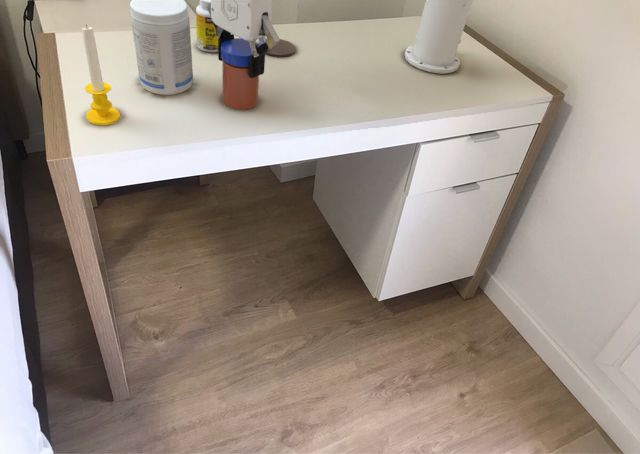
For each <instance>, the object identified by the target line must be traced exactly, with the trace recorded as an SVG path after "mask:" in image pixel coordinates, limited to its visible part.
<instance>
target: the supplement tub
mask: <svg viewBox="0 0 640 454" xmlns="http://www.w3.org/2000/svg"><path fill="white" fill-rule="evenodd" d="M129 8H130V11H129V13H130V21H131V22H130V23H131V29H132V35H133V36H132V37H133V43H134V49H135V56H136V57H135V58H136V64H137V65H136V66H137V70H138V78H139V82H140V85H141V86H142V87H143V89H145V90H147V92H150V93H153V94H156V95H163V96H164V95H165V96H172V95H177V94H180V93H183V92H185V91H187V90H188V89H190V88H191V87H192V85H193V83H194V72H193V71H194V69H193V53H192V38H191V26H190V25H191V24H190V22H191V21H190V12H189V7H188V4H187V2H186V1H185V0H131V1H130V2H129Z"/></svg>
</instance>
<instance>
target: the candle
mask: <svg viewBox="0 0 640 454" xmlns="http://www.w3.org/2000/svg"><path fill="white" fill-rule="evenodd" d="M93 29H94V28H93V27H91V26H88V25H87V24H85V27H82V28H81V33H82V40H83V45H84V50H85V57H86V61H87V67H88V72H89V77H90V83H88V84H86V85H85V87H84V91H86V92H87V93H88V94H91V95H92V100H93V101H91V103H90V109H89V110H88V111H87V112H86V114H85V116H86V117H85V118H86V120H87V122H89V123H90V124H93V125H95V126H109V125H113V124H115V123H117V122H118V121H119V120H120V118H121V113H120V111H119V110H118V109H117V108H115V107H114V106H113V103H112V101H110V100H109V99H108V95H107V94H108V93H109V92H110V91H111V90H112V86H111V84H109V83H108V82H104V79H103V76H102V70H101V64H100V59H99V53H98V48H97V43H96V37H95V33H94V30H93Z"/></svg>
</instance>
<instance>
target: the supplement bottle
mask: <svg viewBox="0 0 640 454" xmlns="http://www.w3.org/2000/svg"><path fill="white" fill-rule="evenodd" d="M210 3H211V0H199V4H198V5H197V6H196V7H195V8H196V9H195V20H196V21H195V22H196V24H195V25H196V27H195V28H196V46H197V48H198V49H200V50H201V51H203V52H207V53H218V38H219V37H217V36H216V33H215V32H216V29H215V27H214V25H213V23H212V19H211V16H210V14H209V12H208V9H207V6H208V5H209V4H210Z"/></svg>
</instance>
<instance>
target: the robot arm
mask: <svg viewBox="0 0 640 454" xmlns="http://www.w3.org/2000/svg"><path fill="white" fill-rule="evenodd" d="M473 2H474V0H425V2H424V6H423V10H422V13H421V17H420V20H419V25H418V29H417V32H416V37H415V40H414V43H413V45H409V46H408V47H407V48H406V49H405V51H404V58H405V60H406V62H407V63H409V64H410V65H411V66H413V67H415V68H417V69H419V70H422V71H424V72H428V73H433V74H441V75H442V74H451V73H454V72H456V71H457V70H458V69H459V67H460V64H461V61H460V59H459V57H458V56H457V52H458V47H459V46H460V44H461V43H462V35H463V32H464V29H465V26H466V23H467V20H468V17H469V13H470V11H471V9H472V4H473ZM207 9H208V12H209V14H210V16H211V19H212V23H213V25H214V27H215V29H216V32H215V33H216V36H217V37H219V38H218V52H217V56H218V57H217V58H218V60H219V61H220V62H222V58H221V44H222V43H223V42H224V41H226V40H229V39H235V36H236V38H237V37H238V38H241V39H243V40H245V41H249V44H250V48H251V51H252V55H250V56H249V77H250V78H254V77H257V76H259V77H260V76H262V75H264V73H265V66H266V65H265V64H266V53H268V52H269V51H270V50H271V49H273V47H274V46H275V45H276V44H278V43H279V41H280V36H279V34H278V33H277V31H276V29H275V28H274V25H273V24H272V23H273V22H272V21H273V0H211V3H210V4H209V5H208V6H207ZM266 39H267V40H266ZM257 40H258V42H259V43H260V46H259V47H258V46H257V43H258V42H257Z"/></svg>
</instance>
